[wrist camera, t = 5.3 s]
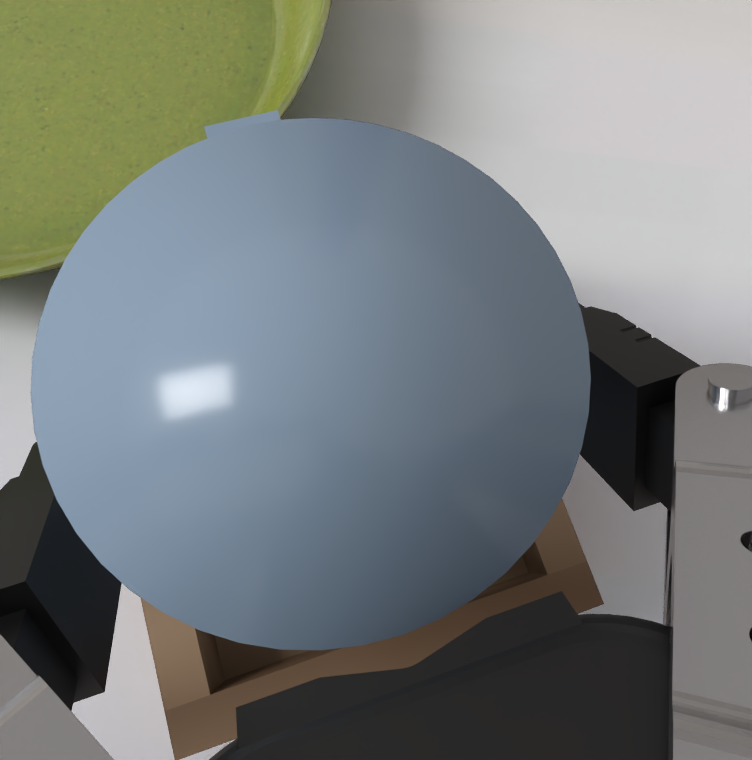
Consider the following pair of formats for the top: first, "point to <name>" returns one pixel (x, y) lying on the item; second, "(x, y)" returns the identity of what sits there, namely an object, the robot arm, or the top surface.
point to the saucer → (127, 99)
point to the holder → (294, 667)
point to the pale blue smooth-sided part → (310, 383)
